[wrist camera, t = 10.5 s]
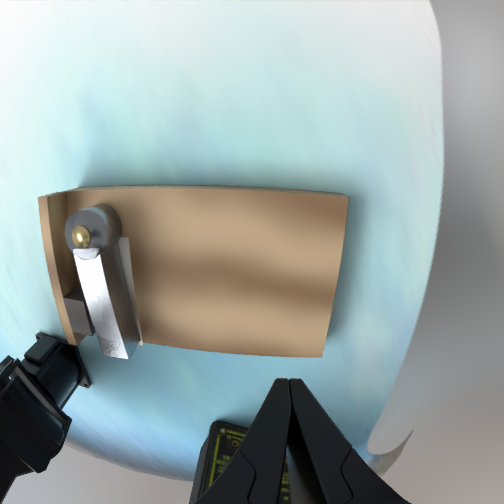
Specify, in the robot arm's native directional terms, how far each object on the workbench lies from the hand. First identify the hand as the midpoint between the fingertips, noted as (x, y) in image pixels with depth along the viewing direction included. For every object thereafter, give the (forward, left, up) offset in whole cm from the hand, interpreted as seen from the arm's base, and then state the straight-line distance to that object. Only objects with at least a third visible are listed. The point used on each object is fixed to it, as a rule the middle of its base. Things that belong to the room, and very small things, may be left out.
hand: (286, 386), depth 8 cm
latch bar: (-1, +12, -10) cm, 15 cm away
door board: (-1, +6, -12) cm, 13 cm away
